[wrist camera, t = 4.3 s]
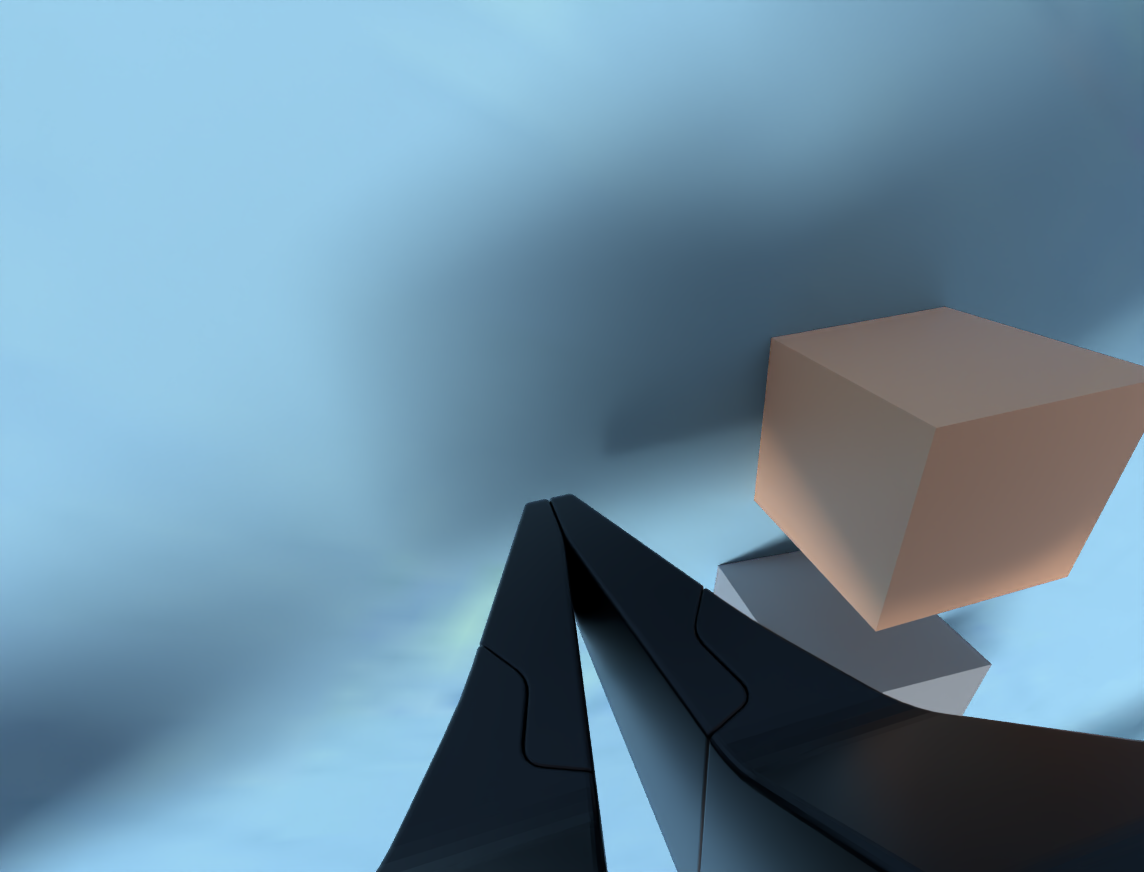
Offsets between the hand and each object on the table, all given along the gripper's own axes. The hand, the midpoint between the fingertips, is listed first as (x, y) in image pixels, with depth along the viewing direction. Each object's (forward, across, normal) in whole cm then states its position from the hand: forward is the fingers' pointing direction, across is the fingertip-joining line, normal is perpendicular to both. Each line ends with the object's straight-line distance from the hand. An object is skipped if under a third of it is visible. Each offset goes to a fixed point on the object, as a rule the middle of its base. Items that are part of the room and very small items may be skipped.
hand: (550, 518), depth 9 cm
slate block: (+2, -6, +6) cm, 9 cm away
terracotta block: (+2, -7, 0) cm, 7 cm away
